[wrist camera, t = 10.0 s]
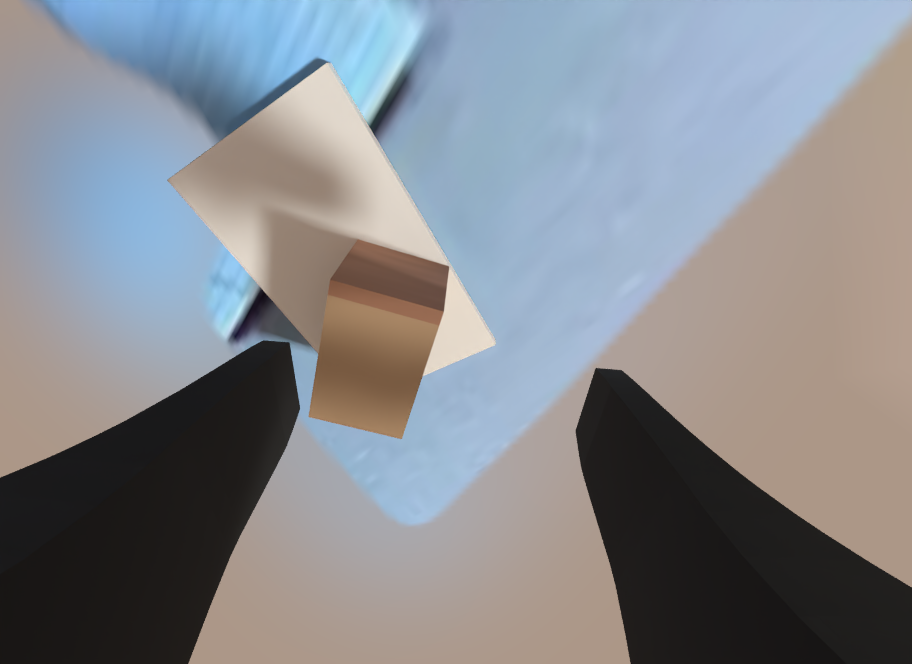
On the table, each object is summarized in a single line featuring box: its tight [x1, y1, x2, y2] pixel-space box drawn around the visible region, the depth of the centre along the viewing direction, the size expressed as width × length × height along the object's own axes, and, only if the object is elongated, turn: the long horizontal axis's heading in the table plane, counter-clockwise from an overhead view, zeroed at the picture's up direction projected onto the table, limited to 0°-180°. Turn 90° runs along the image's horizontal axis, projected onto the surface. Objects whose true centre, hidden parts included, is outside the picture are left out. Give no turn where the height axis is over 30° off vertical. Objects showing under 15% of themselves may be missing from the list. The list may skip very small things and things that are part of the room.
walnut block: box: [309, 239, 449, 439], centre depth 18 cm, size 7×4×4 cm, turn 163°
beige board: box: [168, 63, 496, 376], centre depth 18 cm, size 13×8×1 cm, turn 29°
